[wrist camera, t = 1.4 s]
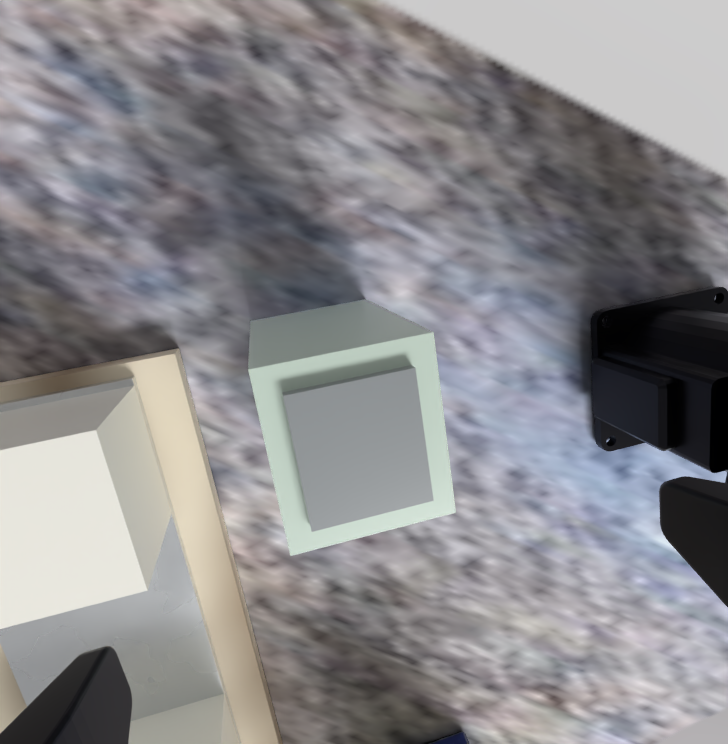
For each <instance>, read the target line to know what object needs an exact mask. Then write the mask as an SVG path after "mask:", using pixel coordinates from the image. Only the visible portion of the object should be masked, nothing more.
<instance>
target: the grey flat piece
mask: <svg viewBox="0 0 728 744" xmlns="http://www.w3.org/2000/svg"><path fill="white" fill-rule="evenodd" d="M129 386H134V387H135V390H136V393H137V397H138V400H139V404H140V407H141V411H142V414H143V417H144V421H145V424H146V428H147V431H148V434H149V438H150V441H151V445H152V448H153V452H154V455H155V458H156V462H157V465H158V469H159V472H160V475H161V479H162V482H163V486H164V489H165V493H166V496H167V499H168V503H169V506H170V510H171V516H170V520H169V523H168V526H167V529H166V532H165V536H164V539H163V542H162V545H161V549H160V552H159V555H158V558H157V562H156V565H155V568H154V571H153V575H152V578H151V581H150V584H149V587H148V591H144V592H140V593H136V594H132V595H129V596H125V597H121V598H117V599H113V600H109V601H106V602H102V603H98V604H94V605H90V606H86V607H83V608H79V609H75V610H71V611H67V612H64V613H60V614H56V615H52V616H48V617H44V618H41V619H37V620H33V621H29V622H25V623H21V624H18V625H14V626H10V627H6V628H2V629H0V644H1V646H2V649H3V651H4V653H5V656H6V658H7V660H8V663H9V665H10V668H11V670H12V672H13V675H14V677H15V679H16V682H17V684H18V686H19V689H20V691H21V693H22V696H23V698H24V700H25V703H26V705H27V706H28V705H29V704H30V703H31V702H32V701H33V700H34V699H35V698H36V697H37V696H38V695H39V694H40V693H41V692H42V691H43V690H44V689H45V688H46V687H47V686H48V685H49V684H50V683H51V682H52V681H53V680H54V679H55V678H56V677H57V676H58V675H59V674H60V673H61V672H62V671H63V670H64V669H65V668H66V667H67V666H68V665H69V664H70V663H71V662H72V661H73V660H74V659H75V658H76V657H77V656H78V655H80V654H81V653H83V652H86V651H89V650H93V649H96V648H100V647H103V646H111V647H113V648H114V650H115V651H116V653H117V655H118V658H119V660H120V663H121V665H122V668H123V671H124V673H125V676H126V678H127V681H128V683H129V686H130V689H131V694H132V713H131V721H133V720H137V719H140V718H144V717H147V716H150V715H154V714H157V713H160V712H164V711H167V710H170V709H174V708H177V707H180V706H184V705H187V704H191V703H194V702H197V701H201V700H204V699H207V698H211V697H214V696H217V695H221V694H225V698H226V701H227V705H228V708H229V711H230V715H231V718H232V722H233V725H234V728H235V732H236V735H237V739H238V742H239V744H242V743H241V740H240V736H239V733H238V729H237V726H236V722H235V719H234V716H233V712H232V709H231V705H230V702H229V698H228V695H227V692H226V688H225V685H224V681H223V678H222V674H221V671H220V667H219V664H218V661H217V657H216V654H215V650H214V647H213V643H212V640H211V636H210V633H209V630H208V626H207V623H206V619H205V616H204V612H203V609H202V606H201V602H200V599H199V595H198V592H197V588H196V585H195V581H194V578H193V575H192V571H191V568H190V564H189V561H188V557H187V554H186V550H185V547H184V544H183V540H182V537H181V533H180V530H179V526H178V523H177V519H176V516H175V513H174V509H173V506H172V502H171V499H170V495H169V492H168V489H167V485H166V482H165V478H164V475H163V471H162V468H161V464H160V461H159V458H158V454H157V451H156V447H155V444H154V440H153V437H152V433H151V430H150V427H149V423H148V420H147V416H146V413H145V409H144V406H143V403H142V399H141V396H140V392H139V389H138V385H137V382H136V378H135V376H131V377H126V378H121V379H116V380H111V381H106V382H101V383H96V384H91V385H85V386H80V387H75V388H70V389H65V390H60V391H55V392H50V393H45V394H40V395H35V396H30V397H25V398H20V399H15V400H10V401H4V402H0V412H4V411H9V410H14V409H19V408H24V407H29V406H34V405H39V404H44V403H49V402H54V401H59V400H64V399H69V398H74V397H79V396H84V395H89V394H94V393H99V392H104V391H109V390H114V389H119V388H124V387H129Z"/></svg>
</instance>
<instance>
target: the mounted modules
mask: <svg viewBox="0 0 728 744" xmlns="http://www.w3.org/2000/svg"><path fill="white" fill-rule="evenodd" d="M170 516H171V510H170V506H169V503H168V499H167V496H166V493H165V489H164V486H163V482H162V479H161V475H160V472H159V469H158V465H157V462H156V458H155V455H154V452H153V448H152V445H151V441H150V438H149V434H148V431H147V428H146V424H145V421H144V417H143V414H142V411H141V407H140V404H139V400H138V397H137V393H136V390H135V387H134V386H129V387H124V388H119V389H114V390H109V391H104V392H99V393H94V394H89V395H84V396H79V397H74V398H69V399H64V400H59V401H54V402H49V403H44V404H39V405H34V406H29V407H24V408H19V409H14V410H9V411H4V412H0V629H2V628H6V627H10V626H14V625H18V624H21V623H25V622H29V621H33V620H37V619H41V618H44V617H48V616H52V615H56V614H60V613H64V612H67V611H71V610H75V609H79V608H83V607H86V606H90V605H94V604H98V603H102V602H106V601H109V600H113V599H117V598H121V597H125V596H129V595H132V594H136V593H140V592H144V591H148V587H149V584H150V581H151V578H152V575H153V571H154V568H155V565H156V562H157V558H158V555H159V552H160V549H161V545H162V542H163V539H164V536H165V532H166V529H167V526H168V523H169V520H170ZM128 744H239V742H238V739H237V735H236V732H235V728H234V725H233V722H232V718H231V715H230V711H229V708H228V705H227V701H226V698H225V694H221V695H217V696H214V697H211V698H207V699H204V700H201V701H197V702H194V703H191V704H187V705H184V706H180V707H177V708H174V709H170V710H167V711H164V712H160V713H157V714H154V715H150V716H147V717H144V718H140V719H137V720H133V721H131V722H130V731H129V741H128Z"/></svg>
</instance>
